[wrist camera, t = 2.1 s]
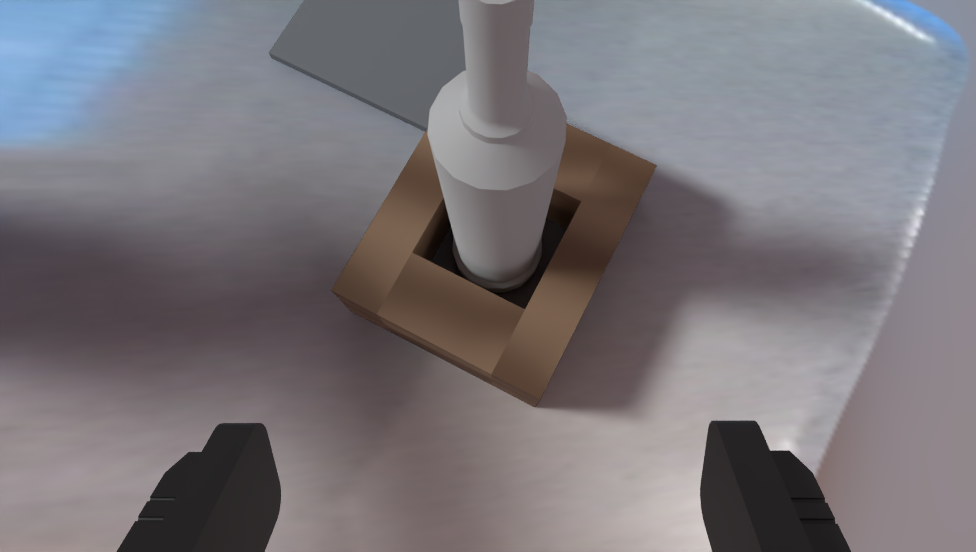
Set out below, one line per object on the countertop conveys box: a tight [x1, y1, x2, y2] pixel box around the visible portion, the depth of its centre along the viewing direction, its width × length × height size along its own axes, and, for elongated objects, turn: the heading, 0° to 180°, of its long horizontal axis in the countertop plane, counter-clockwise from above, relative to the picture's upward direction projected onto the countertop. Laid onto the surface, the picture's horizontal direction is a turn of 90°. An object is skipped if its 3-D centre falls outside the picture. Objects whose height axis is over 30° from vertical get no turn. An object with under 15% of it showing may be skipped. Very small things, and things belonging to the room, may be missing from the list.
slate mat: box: [269, 0, 466, 132], centre depth 46 cm, size 12×12×1 cm
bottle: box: [427, 0, 567, 293], centre depth 30 cm, size 5×5×25 cm
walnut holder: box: [331, 124, 657, 407], centre depth 40 cm, size 14×12×5 cm
